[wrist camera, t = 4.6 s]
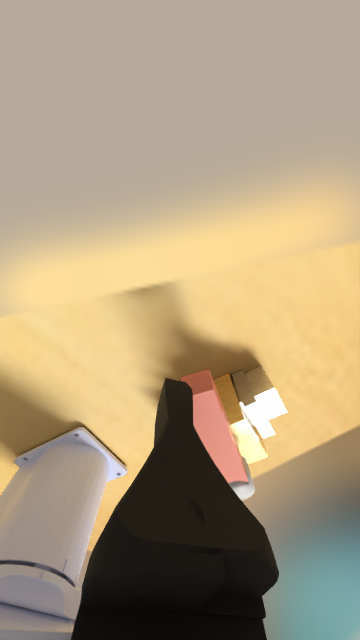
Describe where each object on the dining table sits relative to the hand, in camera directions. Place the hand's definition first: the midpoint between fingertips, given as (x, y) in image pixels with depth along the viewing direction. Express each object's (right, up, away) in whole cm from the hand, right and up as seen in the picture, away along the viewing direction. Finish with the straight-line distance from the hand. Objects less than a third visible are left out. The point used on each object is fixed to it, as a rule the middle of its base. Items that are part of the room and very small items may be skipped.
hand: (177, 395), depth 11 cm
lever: (+3, -3, +2) cm, 4 cm away
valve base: (+4, -3, +8) cm, 10 cm away
